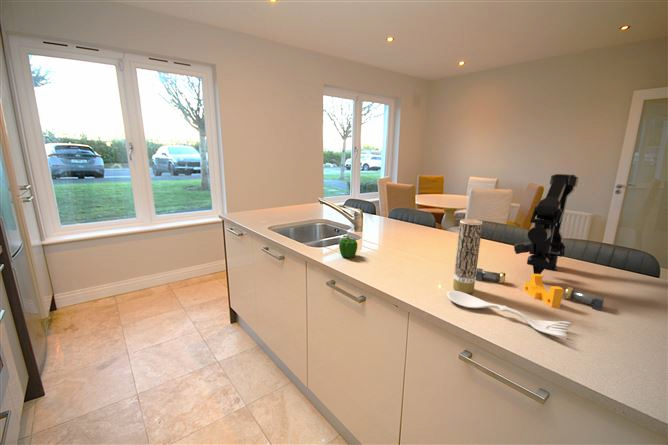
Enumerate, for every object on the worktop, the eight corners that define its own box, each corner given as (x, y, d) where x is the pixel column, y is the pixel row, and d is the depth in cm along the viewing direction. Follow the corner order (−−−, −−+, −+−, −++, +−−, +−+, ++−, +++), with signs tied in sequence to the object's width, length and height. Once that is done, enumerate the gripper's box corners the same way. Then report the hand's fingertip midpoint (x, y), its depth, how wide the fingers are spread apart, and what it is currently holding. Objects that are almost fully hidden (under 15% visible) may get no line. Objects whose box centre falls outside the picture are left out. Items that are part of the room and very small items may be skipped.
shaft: (562, 299, 97) (565, 288, 96) (565, 295, 100) (568, 285, 99) (601, 311, 90) (604, 299, 90) (603, 306, 93) (605, 295, 92)
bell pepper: (360, 255, 138) (361, 235, 135) (351, 260, 131) (352, 239, 129) (344, 252, 142) (345, 232, 140) (335, 257, 135) (336, 236, 133)
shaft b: (503, 281, 111) (505, 271, 111) (504, 285, 108) (505, 275, 107) (475, 276, 116) (477, 266, 115) (475, 280, 112) (476, 270, 111)
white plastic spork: (565, 347, 73) (568, 335, 73) (441, 303, 95) (442, 293, 94) (570, 332, 80) (572, 321, 79) (453, 293, 101) (454, 284, 100)
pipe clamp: (523, 290, 104) (526, 273, 103) (536, 290, 104) (539, 273, 103) (545, 307, 93) (549, 288, 91) (559, 308, 93) (563, 289, 91)
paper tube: (449, 285, 107) (456, 219, 101) (467, 285, 107) (475, 218, 101) (458, 294, 100) (466, 223, 94) (477, 294, 101) (486, 223, 95)
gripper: (520, 229, 120) (514, 265, 124) (513, 239, 106) (507, 279, 109) (554, 234, 113) (546, 271, 117) (552, 245, 99) (544, 288, 103)
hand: (535, 277), depth 112 cm, fingers closed
